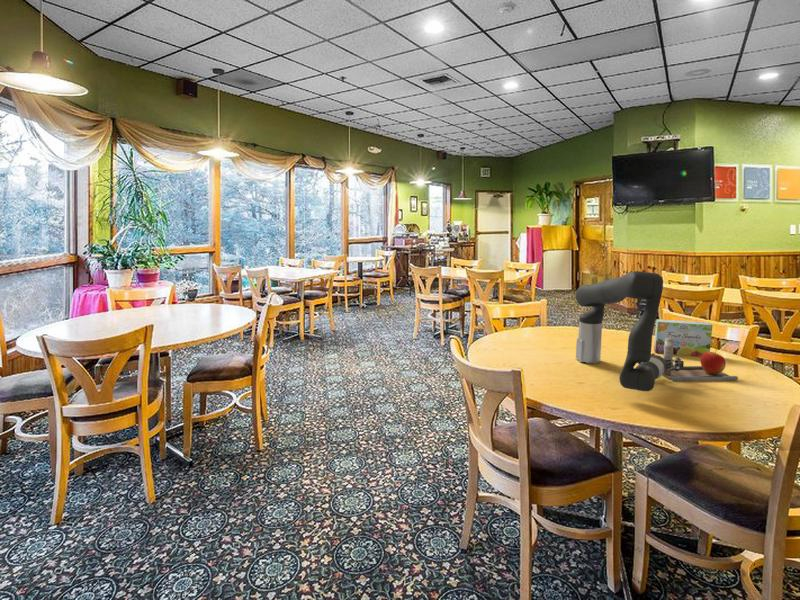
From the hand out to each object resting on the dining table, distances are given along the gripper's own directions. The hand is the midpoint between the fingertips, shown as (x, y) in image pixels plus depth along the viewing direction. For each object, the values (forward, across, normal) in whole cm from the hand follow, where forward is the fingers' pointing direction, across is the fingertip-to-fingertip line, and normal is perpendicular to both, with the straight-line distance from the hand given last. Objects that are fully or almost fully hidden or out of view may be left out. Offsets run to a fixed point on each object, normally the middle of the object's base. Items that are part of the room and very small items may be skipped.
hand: (665, 358), depth 179 cm
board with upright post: (+11, -8, +8) cm, 15 cm away
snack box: (+41, +4, +8) cm, 42 cm away
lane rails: (+11, -8, +8) cm, 16 cm away
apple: (+16, -12, +8) cm, 21 cm away
